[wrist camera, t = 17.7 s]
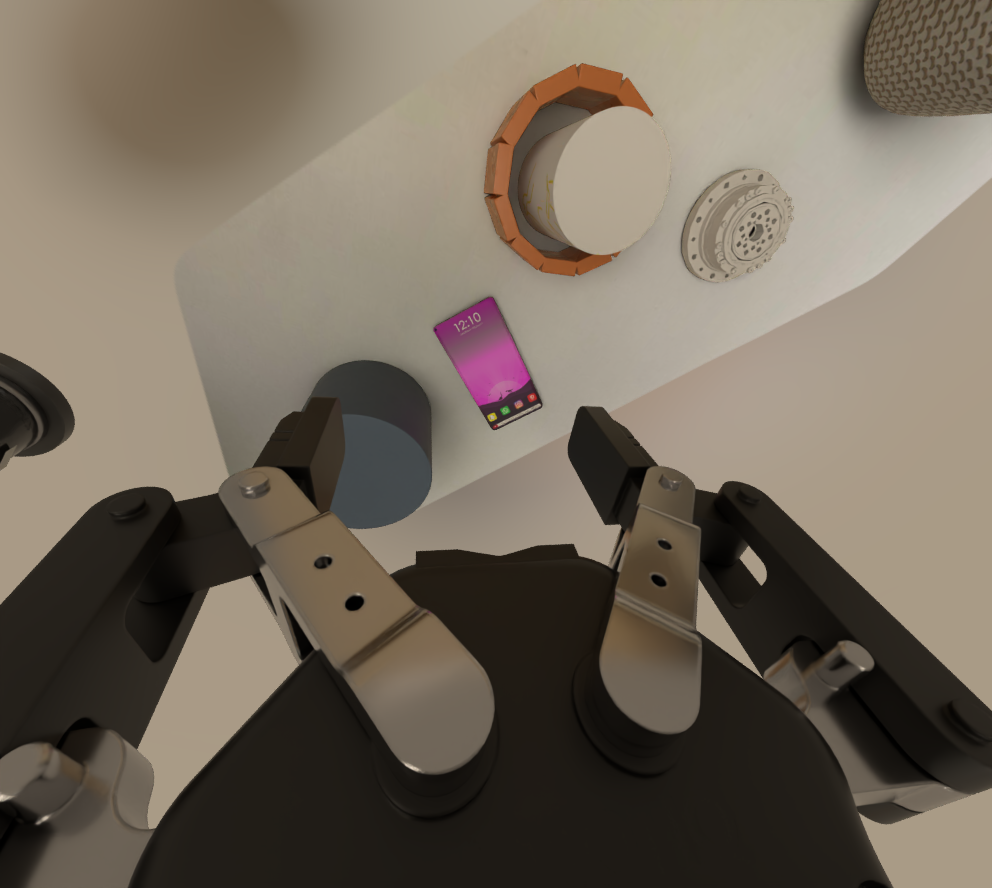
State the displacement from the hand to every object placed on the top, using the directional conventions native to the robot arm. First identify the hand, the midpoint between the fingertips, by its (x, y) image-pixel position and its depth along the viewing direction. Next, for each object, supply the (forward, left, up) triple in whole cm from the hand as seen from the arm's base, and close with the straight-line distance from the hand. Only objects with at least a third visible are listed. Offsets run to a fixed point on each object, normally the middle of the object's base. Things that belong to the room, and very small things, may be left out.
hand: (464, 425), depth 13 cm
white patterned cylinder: (+12, +6, -30) cm, 33 cm away
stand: (-11, -15, -30) cm, 35 cm away
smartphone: (+4, -11, -30) cm, 32 cm away
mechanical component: (+30, +1, -30) cm, 43 cm away
